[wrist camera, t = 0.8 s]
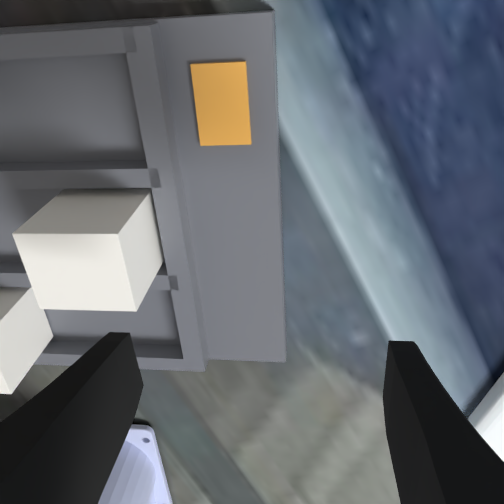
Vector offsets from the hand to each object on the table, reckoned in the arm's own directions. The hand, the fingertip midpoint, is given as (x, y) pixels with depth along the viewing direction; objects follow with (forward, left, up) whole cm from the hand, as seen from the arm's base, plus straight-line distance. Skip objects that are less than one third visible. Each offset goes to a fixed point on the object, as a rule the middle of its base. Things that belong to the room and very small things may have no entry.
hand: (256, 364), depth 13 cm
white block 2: (0, +7, -8) cm, 11 cm away
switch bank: (0, +11, -9) cm, 14 cm away
